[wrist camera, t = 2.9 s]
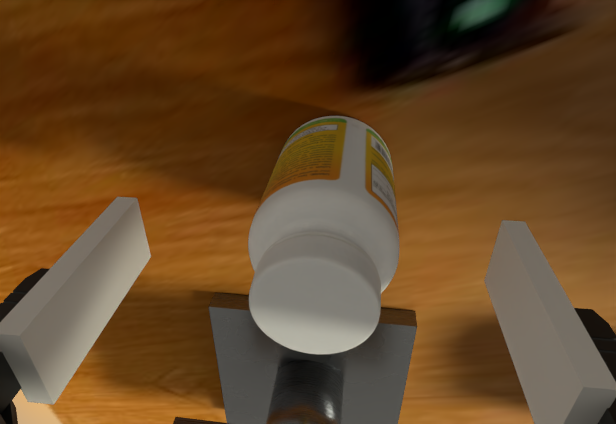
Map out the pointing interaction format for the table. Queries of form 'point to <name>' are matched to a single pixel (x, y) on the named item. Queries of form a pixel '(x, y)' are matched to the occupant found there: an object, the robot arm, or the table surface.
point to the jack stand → (308, 372)
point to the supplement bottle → (325, 238)
